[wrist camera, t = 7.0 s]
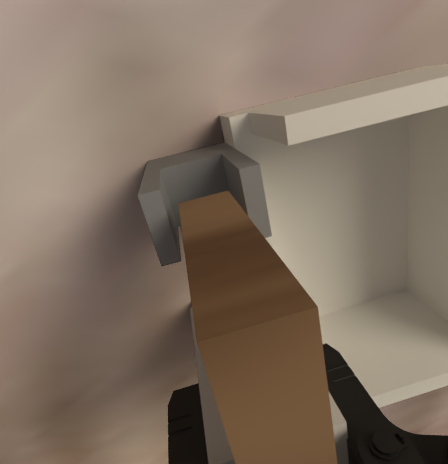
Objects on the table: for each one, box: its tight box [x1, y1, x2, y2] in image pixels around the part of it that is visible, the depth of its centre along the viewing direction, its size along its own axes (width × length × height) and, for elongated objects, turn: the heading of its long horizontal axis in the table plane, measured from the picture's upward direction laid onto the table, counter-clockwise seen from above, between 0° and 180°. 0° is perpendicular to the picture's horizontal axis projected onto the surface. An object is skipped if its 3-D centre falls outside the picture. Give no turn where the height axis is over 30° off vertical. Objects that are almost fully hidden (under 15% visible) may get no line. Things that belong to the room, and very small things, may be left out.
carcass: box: [138, 64, 448, 408], centre depth 18 cm, size 16×17×8 cm
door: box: [178, 191, 338, 464], centre depth 11 cm, size 12×2×8 cm, turn 12°
